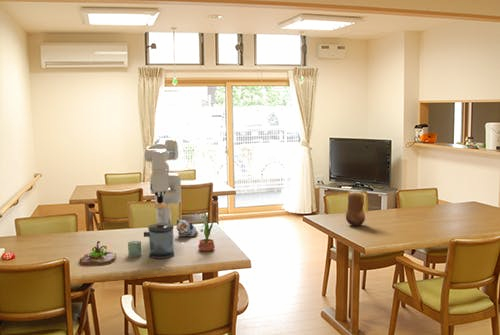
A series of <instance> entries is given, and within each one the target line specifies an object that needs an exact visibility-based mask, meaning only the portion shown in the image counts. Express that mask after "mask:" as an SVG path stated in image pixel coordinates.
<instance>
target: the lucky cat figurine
mask: <svg viewBox="0 0 500 335" xmlns="http://www.w3.org/2000/svg"><path fill="white" fill-rule="evenodd" d="M176 230H177V232H178V235H179V237H180V238H181V237H193V238H195V237H197V236H198V235H199V232H198V230H197V228H196V226H195V225H193V222H191V221H190V222H188V220H186V219H180V218H178V219H176ZM196 235H197V236H196Z"/></svg>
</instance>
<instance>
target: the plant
mask: <svg viewBox="0 0 500 335" xmlns="http://www.w3.org/2000/svg"><path fill="white" fill-rule="evenodd" d="M99 244H101V241H100V240H97V242H96V246H93V248H92V249H91V250H90V252H89V253H86V254H84V255H83V256H82V257H80V258H79V261H78V262H79V263H80V265H81V266H105V265H111V264H112V263H114V262H116V260H117V253H116V252H112V251H107V249H108V247H107V246H106V245H102V246H100V247H99Z"/></svg>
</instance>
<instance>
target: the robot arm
mask: <svg viewBox="0 0 500 335" xmlns="http://www.w3.org/2000/svg"><path fill="white" fill-rule="evenodd" d="M178 148H179V145H178V142H177V140H176V139H175V138H158V139H156V140H155V142H154V144H152V145H148V146H146V148H145V150H144V153H143V154H144V159H145V161H146V162H147V163H151V164H152V165H151V168H152V173H151V175H150V178H149V179H150V180H149V182H150V183H149V191H150V194H151V195H154V200H155V204H156V203H166V208H163V216H158V208H155V210H156V224H159V223H168V224H172V210H171V208H170V206H169V205H178V204H180V203H181V201H182V184H181V183H182V181H181V176H180V174H178V173H170V166H169V164H168V162H167V161H176V160H178V158H179V149H178ZM174 236H175V234H174V233H173V237H174Z"/></svg>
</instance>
